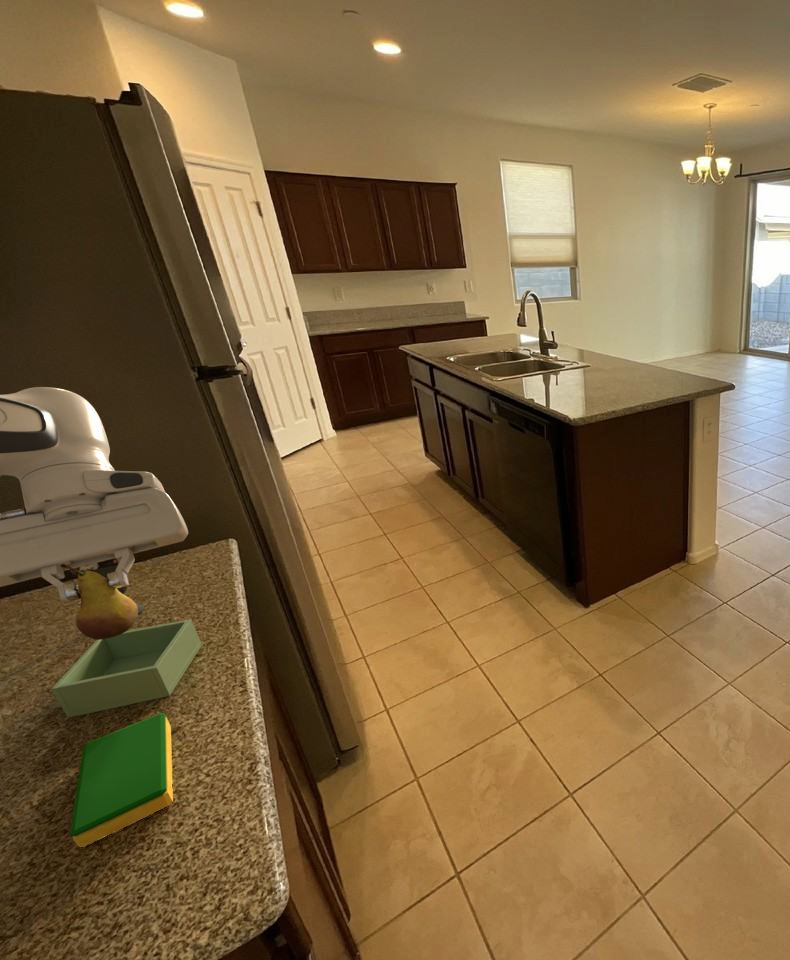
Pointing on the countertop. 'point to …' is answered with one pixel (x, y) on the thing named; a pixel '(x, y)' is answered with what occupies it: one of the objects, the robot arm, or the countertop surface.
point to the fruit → (102, 607)
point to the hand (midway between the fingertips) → (96, 592)
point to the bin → (128, 668)
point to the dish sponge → (123, 779)
